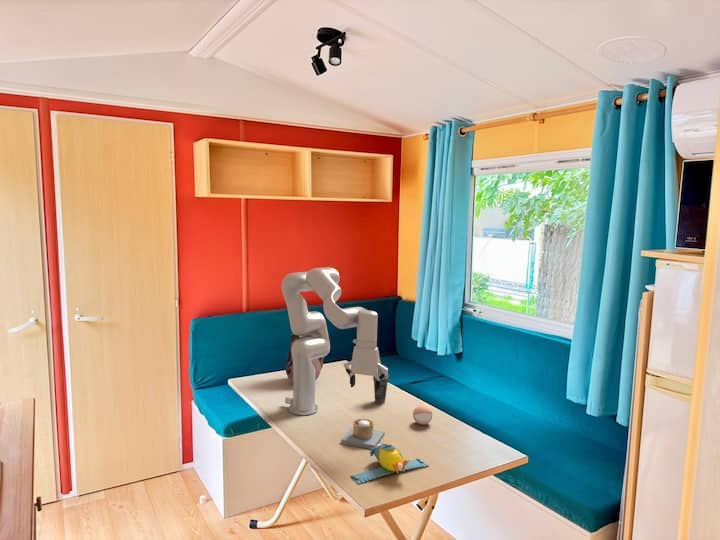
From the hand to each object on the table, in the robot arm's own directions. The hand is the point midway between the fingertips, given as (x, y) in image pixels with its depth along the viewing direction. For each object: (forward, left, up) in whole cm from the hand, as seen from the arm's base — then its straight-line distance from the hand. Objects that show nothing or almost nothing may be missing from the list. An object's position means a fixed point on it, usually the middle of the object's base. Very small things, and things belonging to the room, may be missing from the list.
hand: (364, 388), depth 188 cm
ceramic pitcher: (-47, +50, -20) cm, 71 cm away
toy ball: (+18, +23, -20) cm, 36 cm away
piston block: (0, 0, -20) cm, 20 cm away
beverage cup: (-5, +39, -20) cm, 44 cm away
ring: (0, 0, -19) cm, 19 cm away
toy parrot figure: (+15, -18, -21) cm, 32 cm away
